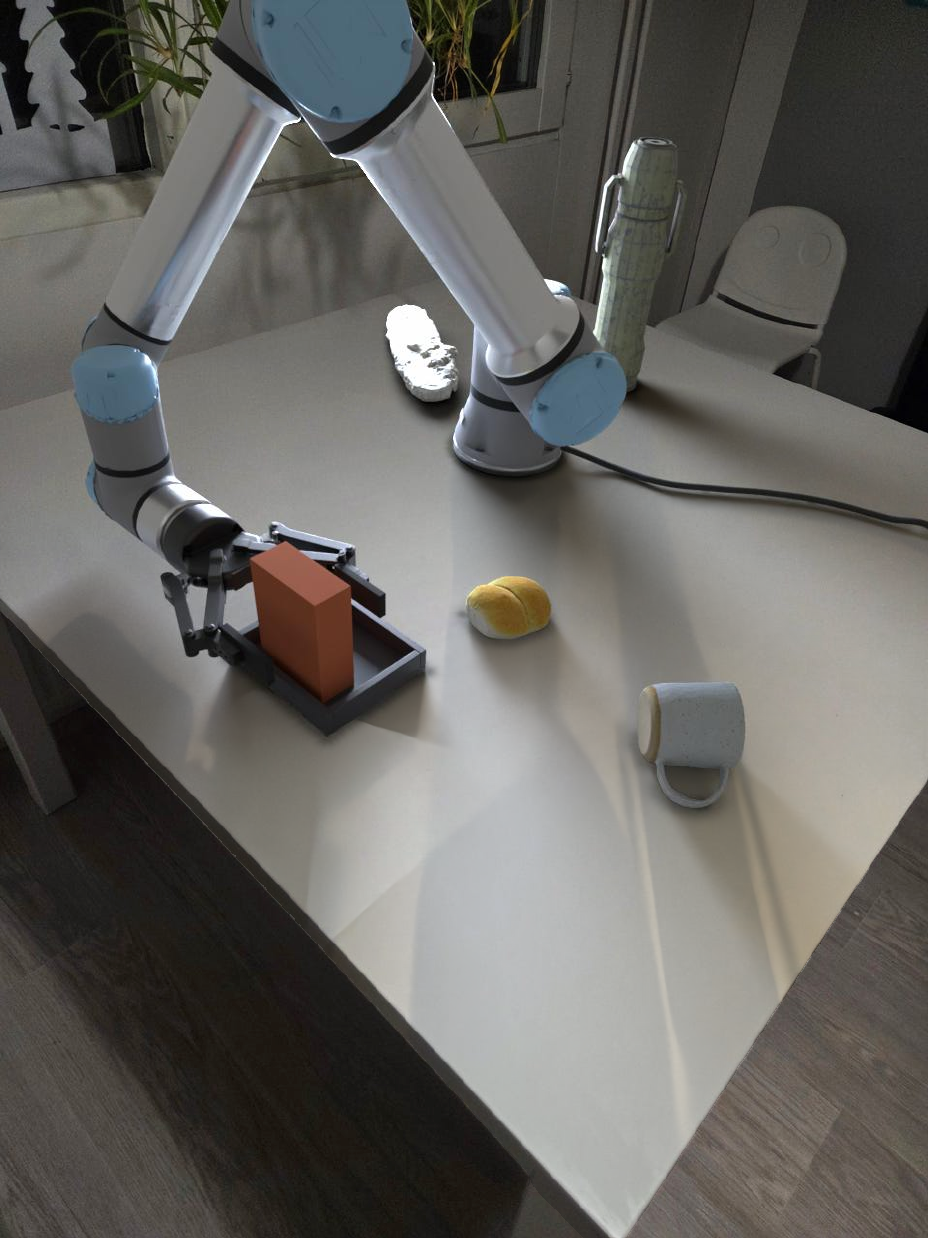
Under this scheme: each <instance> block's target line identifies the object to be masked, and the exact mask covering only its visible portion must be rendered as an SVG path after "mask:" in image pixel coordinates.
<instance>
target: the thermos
mask: <svg viewBox="0 0 928 1238" xmlns="http://www.w3.org/2000/svg"><path fill="white" fill-rule="evenodd" d="M678 156H679V155H678V147H677V145H676V144H674V142H673V141H672V140H670V139H666V138H661V137H654V136H643V137H642V136H641V137H638V139H635V140H633V141H632V143H631V145H630V148H629V150H628V152H627V154H626V157H625V159H624V160H623V166H622V172H618V173H617V174H612V175H611V176H610V177H609V179H608V180H607V181H606V182H605V184H604V186H603V192H602V199H601V205H600V210H599V218H598V223H597V230H596V237H595V250H594V251H595V252H596V254H600V255H601V256H602V257H603V258H602V265H601V269H602V275H603V279H602V285H601V291H600V297H599V301H598V308H597V313H596V320H595V324H594V325H595V326H594V329H593V330H592V332H593V333H594V335H595V337H596V338H597V340H598V341H599V343H600V344H601V346H602V347H603V348H604V350H605V351H606V352H607V353H610V354H611V355H612V356H614V357H615V358H616V359H617V360H618V362H619V365H620V366H621V368H622V369H623V371H624V374H625V377H626V383H627V388H626V393H630V392H631V391H634V389H635V388H636V387H637V381H638V377H639V373H640V372H641V369H642V365H643V359H644V355H645V350H646V345H645V333H646V329H647V324H648V321H649V320H648V319H649V316H650V315H649V314H650V309H651V304H652V300H653V296H654V290H655V285H656V282H657V281H658V279H659V278H660V276H661V273H662V269H663V268H662V267H663V263H665V261H666V260H669V259H670V258H671V257H673V256H674V255H675V254H676V251H677V247H678V243H679V236H680V232H681V228H682V223H683V219H684V215H685V212H686V211H685V210H686V207H687V201H688V197H689V192H688V191H687V188H686V186H685V184H684V182H683V180H681V179H680V180H679V179H678V178H677V176H678V172H679V157H678ZM615 185H618V186H619V189H618V195H617V201H618V202H617V204H618V205H617V208H616V209H615V214H614V218H613V220H612V222H611V224H610V226H609V228H608V230H607V231H608V232H607V236H606V240H605V235H606V234H605V233H606V227H607V222H608V216H609V209H610V204H611V198H612V191H613V189H614V187H615ZM676 189H678V196H677V200H676V205H675V210H674V215H673V219H672V224H671V229H670V232H669V233H670V234H669V238H668V226H667V224H668V221H669V215H668V212H669V208H670V207H671V205H672V200H673V197H674V191H676ZM604 240H605V241H604Z"/></svg>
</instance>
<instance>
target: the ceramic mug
mask: <svg viewBox="0 0 928 1238" xmlns="http://www.w3.org/2000/svg"><path fill="white" fill-rule="evenodd" d="M744 707H745V706H744V703H743V698H742V695H741V692H740V691H739V689H738V687H737V686H736V684H735V683H734V682H731V681H711V682H710V681H702V682H701V681H700V682H699V681H698V682H697V681H696V682H693V681H691V682H659V683H656V684H650V685H648V686H646V687H645V688H643V689H642V691H641V692H640V694H639V697H638V702H637V708H636V736H637V737H636V738H637V743H638V748H639V751H640V754H641V755H642V758H644V760H646V761H647V762H650V763H654V764H655V765H656V777H657V780H658V783H659V786H660V788H661V791H663V793H664V795H665V796H666V797H667V798H668V799H669V800H671V802H674V803H675V804H677V805H679V806H682V807H684V808H685V807H686V808H691V809H701V808H704V807H707V806H709V805H711V804H713V803H714V802H716V801H717V800H718V799H719V798H720V797H721V796H722V794H723V793H724V791H725V789H726V786H727V782H728V779H729V778H728V777H729V771H730V770H733V769H735V768H736V767H737V766H738V765H739V763H740V761H741V759H742V757H743V752H744V749H745V741H746V715H745V708H744ZM665 766H670V767H671V766H672V767H691V768H692V767H693V768H702V769H713V770H714V769H715V770H719V772H720V773H719V780H718V781H719V782H718V785H717V788H716V790H715V792H714V793H712V794H711V795H710V796H709V797H708V798H706V799H695V798H690V797H688V796H686V795H685V794H683V793H679V792H678V791H677V790H674V789H673V787H671V784H670V783H669V781H668V780H667V775H666V771H665Z"/></svg>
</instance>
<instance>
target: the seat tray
mask: <svg viewBox="0 0 928 1238" xmlns="http://www.w3.org/2000/svg"><path fill="white" fill-rule="evenodd" d="M351 607H352V634H353V661H354V684H353V685H351V686H350V687H348V688H347V689H345V690H344V691H342V692H341V693H339V694H338V695H336V696H335V697H333V698H331V699H330V700H328V701H327V702H325V703H324V704H322V703H321V702H320V701H319V700H317V699H316V698H315V697H314V696H313V695H311V694H310V693H309V692H308V691H306V690H305V689H304V688H303V687H301V686H300V685H299V684H298V683H297V682H295V681H294V680H293V679H292V678H290V677H289V676H288V675H287V674H286V673H284V672H283V671H282V670H281V669H279V668H278V667H277V666H276V665H275V664H273V667H274V675H275V683H273V684H272V685H270V686H267V685H266V684H265V683H264V682H262V683H263V685H265V686H267V687H268V688H269V689H270V690H271V691H272V692H274V693H275V694H276V695H277V696H278V697H279V698H281V699H282V700H283V701H284V702H285V703H287V704H288V705H289V706H290V707H291V708H293V709H294V710H295V711H296V712H297V713H298V714H300V715H301V716H302V717H303V718H304V719H306V720H307V721H308V722H309V723H310V724H311V725H313V726H314V727H315V728H316V729H317V730H318V731H320V732H321V733H322V734H324V735H325V736H326V737H328V738H329V737H330V736H332V735H333V734H335V733H336V732H337V731H339V730H340V729H342V728H343V727H345V726H346V725H347V724H349V723H351V722H352V721H354V720H356V718H358V717H359V716H361V715H362V714H364V713H365V712H367V711H368V710H370V709H371V708H372V707H374V706H376V705H378V703H380V702H381V701H383V700H384V699H386V698H387V697H388V696H390V695H392V694H393V693H395V692H396V691H398V689H400V688H402V687H403V686H405V685H406V684H407V683H409V682H410V681H411V680H413V679H415V678H416V677H418V676H419V675H420V674H422V673H423V672H426V667H427V666H426V664H427V649H426V648H425V647H423V646H422V645H420V644H419V643H418V642H415V641H414V640H413V639H411V638H410V637H409V636H407V635H406V634H405V633H403V632H402V631H400V630H399V629H398V628H396V627H394V626H393V625H391V624H390V623H389V622H387V621H386V620H385V619H383V617H382V618H378V617H377V616H376V615H374V614H373V613H371V612H370V611H368V610H367V609H366V608H364V607H363V606H361V605H360V604H359V603H357V602H356V601H354V600H353V599H351ZM237 631H238V632H239V633H240V634H241V635H243V636H244V637H245V638H246V639H248V640H249V641H250V642H251V643H253V644H254V645H255V646H256V647H257V648H259V649H260V650H261V651H262V645H261V638H260V630H259V623H258V620H256V621H254V622H252V623H250V624H249V625H247V626H245V627H243V628H241V629H239V630H237ZM243 667H244V668H245V669H247V668H246V667H245V666H243ZM249 672H250V673H251V674H252V675H254V674H253V673H252V672H251V671H249ZM256 678H257V679H258V680H260V679H259V678H258V677H256Z"/></svg>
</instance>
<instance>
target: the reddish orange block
mask: <svg viewBox="0 0 928 1238" xmlns="http://www.w3.org/2000/svg"><path fill="white" fill-rule="evenodd" d="M250 564H251V572H252V579H253V582H252V586H253V593H254V600H255V607H256V608H255V609H256V615H257V621H258V623H259V630H260V638H261V645H262V652H264V653H265V654H266V655H267V656H269V657H270V658H271V659H272V660H273V664H275V665H276V666H277V667H278V668H279V669H281V670H282V671H283V672H284V673H286V674H287V675H288V676H289V677H290V678H292V679H293V680H294V681H295V682H297V683H298V684H299V685H300V686H301V687H303V688H304V689H305V690H306V691H308V692H309V693H310V694H311V695H313V696H314V697H315V698H316V699H317V700H319V701H320V702H321V703H322V704H324V703H325V702H327V701H328V700H330V699H331V698H333V697H335V696H336V695H338V694H339V693H341V692H342V691H344V690H345V689H347V688H348V687H350V686H351V685H353V684H354V661H353V634H352V607H351V586H350V585H348V584H347V583H345V582H344V581H342V580H341V579H340V578H338V577H337V576H335V575H334V574H332V573H331V572H329V571H328V570H327V569H325V568H324V567H322V566H321V565H319V564H318V563H316V562H315V561H314V560H312V559H311V558H309V557H308V556H306V555H305V554H303V553H302V552H301V551H299V550H298V549H296V548H295V547H293V546H292V545H290V544H289V543H288V542H286V541H285V542H283V543H281V544H279V545H277V546H275V547H273V548H271V549H269V550H267V551H265V552H263V553H261V554H258V555H256V556H254V557H252V558H250Z"/></svg>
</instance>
